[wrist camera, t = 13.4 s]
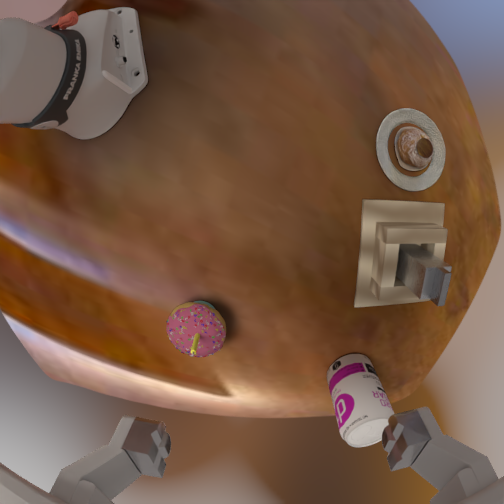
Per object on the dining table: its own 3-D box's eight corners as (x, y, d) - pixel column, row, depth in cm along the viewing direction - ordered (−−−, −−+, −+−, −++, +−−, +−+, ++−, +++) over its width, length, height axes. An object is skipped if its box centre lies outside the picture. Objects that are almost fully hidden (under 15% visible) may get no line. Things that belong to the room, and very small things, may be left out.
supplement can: (319, 383, 46) (332, 449, 32) (337, 348, 43) (360, 415, 29) (357, 387, 46) (378, 448, 32) (377, 353, 44) (408, 415, 30)
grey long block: (392, 243, 37) (434, 274, 26) (415, 243, 37) (460, 272, 26) (389, 269, 38) (427, 307, 27) (411, 268, 38) (453, 304, 27)
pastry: (442, 119, 32) (459, 117, 28) (438, 195, 36) (455, 200, 31) (374, 101, 32) (387, 95, 28) (370, 185, 36) (383, 188, 32)
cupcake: (194, 278, 41) (170, 321, 29) (241, 311, 42) (234, 363, 30) (166, 317, 43) (139, 364, 31) (209, 346, 44) (195, 399, 33)
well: (362, 199, 36) (374, 204, 32) (442, 203, 36) (459, 208, 31) (353, 305, 41) (362, 320, 37) (428, 299, 40) (441, 311, 36)
